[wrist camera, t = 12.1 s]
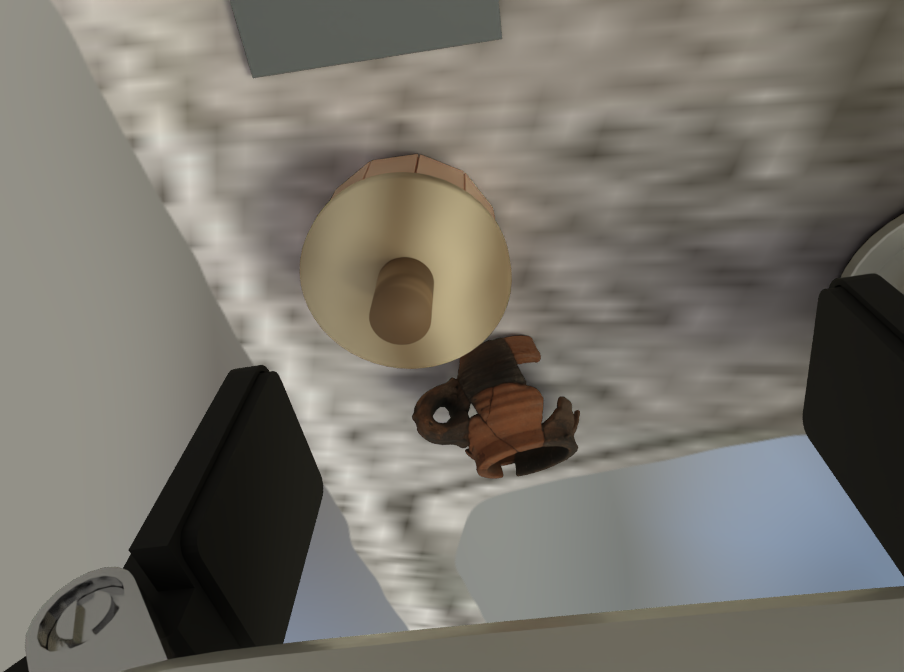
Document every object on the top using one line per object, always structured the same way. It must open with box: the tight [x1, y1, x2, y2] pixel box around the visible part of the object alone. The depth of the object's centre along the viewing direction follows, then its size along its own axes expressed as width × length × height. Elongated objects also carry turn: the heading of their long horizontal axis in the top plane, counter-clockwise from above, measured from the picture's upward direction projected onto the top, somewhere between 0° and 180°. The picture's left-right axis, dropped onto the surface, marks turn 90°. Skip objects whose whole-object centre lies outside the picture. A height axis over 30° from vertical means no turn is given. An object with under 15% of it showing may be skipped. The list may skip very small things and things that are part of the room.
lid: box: [300, 172, 512, 369], centre depth 34 cm, size 12×12×5 cm
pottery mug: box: [412, 336, 580, 478], centre depth 45 cm, size 12×10×8 cm
